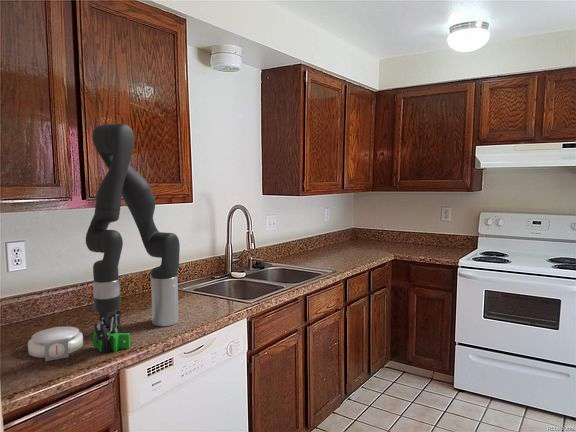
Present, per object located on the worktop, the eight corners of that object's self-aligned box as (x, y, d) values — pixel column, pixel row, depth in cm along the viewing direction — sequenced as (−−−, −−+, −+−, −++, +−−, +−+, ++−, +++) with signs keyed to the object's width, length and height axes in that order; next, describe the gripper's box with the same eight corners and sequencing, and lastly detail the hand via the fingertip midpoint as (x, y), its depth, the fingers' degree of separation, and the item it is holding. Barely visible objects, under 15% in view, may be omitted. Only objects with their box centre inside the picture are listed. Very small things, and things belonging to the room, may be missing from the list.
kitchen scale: (29, 344, 137) (28, 328, 136) (81, 335, 144) (80, 321, 143) (27, 365, 121) (26, 348, 121) (85, 354, 128) (84, 338, 128)
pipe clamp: (89, 352, 131) (88, 337, 130) (95, 347, 134) (94, 333, 134) (125, 352, 130) (125, 337, 130) (130, 347, 134) (130, 332, 134)
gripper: (109, 301, 123) (112, 358, 125) (128, 287, 138) (130, 339, 139) (83, 301, 124) (86, 358, 125) (105, 287, 138) (107, 339, 140)
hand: (109, 348), depth 132 cm, fingers closed on pipe clamp, 3 cm apart
